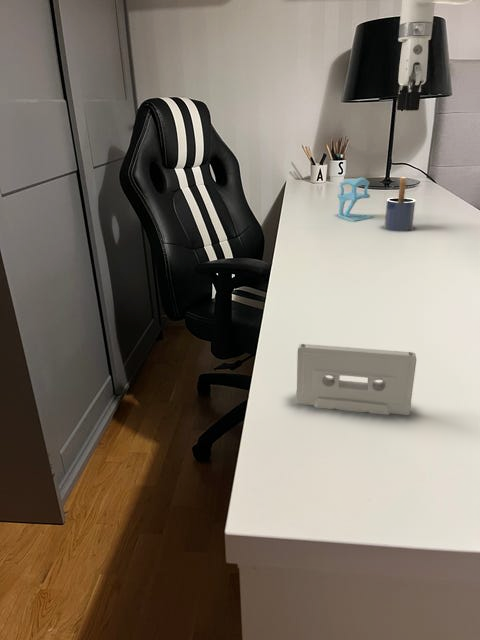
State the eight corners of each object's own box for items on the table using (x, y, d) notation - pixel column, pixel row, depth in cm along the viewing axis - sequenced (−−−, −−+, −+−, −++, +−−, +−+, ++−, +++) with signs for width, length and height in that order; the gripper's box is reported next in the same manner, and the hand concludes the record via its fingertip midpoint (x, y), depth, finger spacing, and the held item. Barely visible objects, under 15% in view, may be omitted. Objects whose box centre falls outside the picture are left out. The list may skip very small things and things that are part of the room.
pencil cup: (408, 227, 134) (411, 197, 131) (414, 234, 128) (418, 202, 125) (381, 228, 135) (384, 197, 132) (386, 234, 128) (389, 202, 125)
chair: (350, 215, 151) (352, 174, 146) (372, 219, 145) (375, 177, 140) (332, 219, 147) (334, 176, 142) (353, 223, 141) (356, 179, 136)
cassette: (294, 411, 55) (296, 349, 52) (297, 402, 56) (298, 341, 53) (409, 424, 52) (418, 358, 49) (408, 413, 54) (416, 350, 51)
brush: (400, 227, 132) (406, 177, 127) (402, 229, 130) (407, 178, 125) (393, 227, 132) (398, 177, 127) (395, 229, 130) (400, 178, 125)
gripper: (441, 27, 112) (431, 110, 119) (421, 37, 128) (414, 109, 135) (407, 29, 113) (399, 111, 120) (392, 38, 129) (385, 110, 136)
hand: (407, 110), depth 127 cm, fingers open, 9 cm apart
